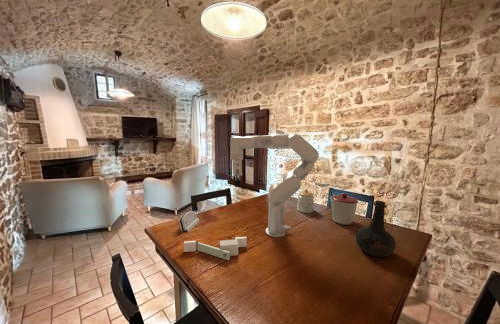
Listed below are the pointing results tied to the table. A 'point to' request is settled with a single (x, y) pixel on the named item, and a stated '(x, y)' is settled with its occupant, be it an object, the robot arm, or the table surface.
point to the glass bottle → (376, 234)
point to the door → (213, 250)
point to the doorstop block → (230, 246)
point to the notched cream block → (192, 244)
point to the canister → (343, 208)
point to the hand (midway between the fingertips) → (236, 184)
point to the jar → (305, 201)
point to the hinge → (188, 221)
